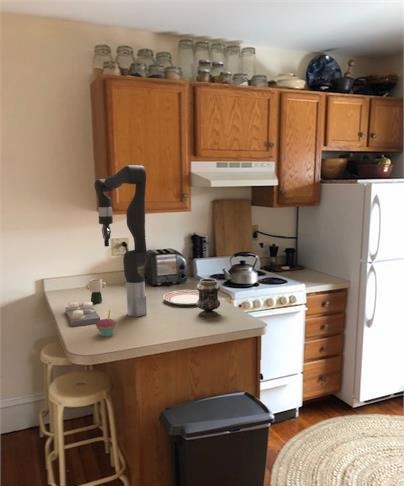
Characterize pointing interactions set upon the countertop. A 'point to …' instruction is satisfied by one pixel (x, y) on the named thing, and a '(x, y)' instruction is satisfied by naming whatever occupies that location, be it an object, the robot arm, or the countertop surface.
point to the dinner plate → (182, 297)
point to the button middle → (87, 305)
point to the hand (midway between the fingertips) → (106, 246)
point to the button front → (77, 314)
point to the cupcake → (106, 326)
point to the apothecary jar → (208, 297)
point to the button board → (88, 316)
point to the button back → (73, 305)
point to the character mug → (96, 289)
